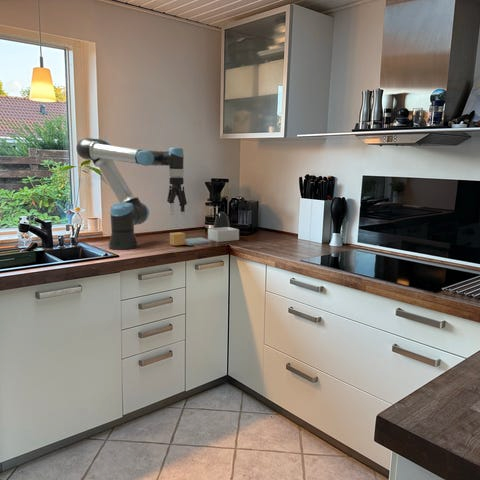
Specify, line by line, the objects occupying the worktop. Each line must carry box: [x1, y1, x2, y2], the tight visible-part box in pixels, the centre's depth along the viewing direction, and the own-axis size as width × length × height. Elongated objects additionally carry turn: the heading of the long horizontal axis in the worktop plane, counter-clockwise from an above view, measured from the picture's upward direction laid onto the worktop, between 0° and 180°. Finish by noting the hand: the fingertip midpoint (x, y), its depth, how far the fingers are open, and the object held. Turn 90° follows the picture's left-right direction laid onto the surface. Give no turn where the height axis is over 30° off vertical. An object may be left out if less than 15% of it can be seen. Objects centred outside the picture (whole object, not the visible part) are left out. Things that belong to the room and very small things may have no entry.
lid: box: [169, 231, 213, 247], centre depth 245 cm, size 21×13×7 cm, turn 123°
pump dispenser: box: [213, 211, 231, 228], centre depth 273 cm, size 10×10×15 cm
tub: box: [207, 227, 240, 243], centre depth 256 cm, size 14×12×7 cm
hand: (176, 216), depth 239 cm, fingers open, 13 cm apart
